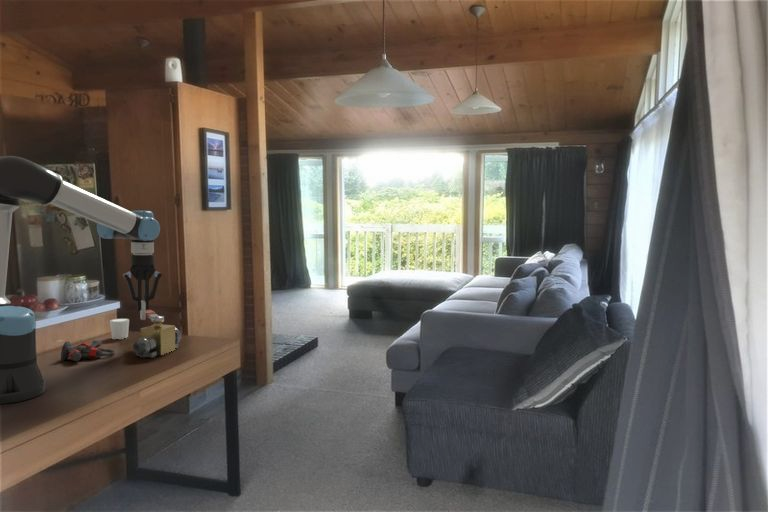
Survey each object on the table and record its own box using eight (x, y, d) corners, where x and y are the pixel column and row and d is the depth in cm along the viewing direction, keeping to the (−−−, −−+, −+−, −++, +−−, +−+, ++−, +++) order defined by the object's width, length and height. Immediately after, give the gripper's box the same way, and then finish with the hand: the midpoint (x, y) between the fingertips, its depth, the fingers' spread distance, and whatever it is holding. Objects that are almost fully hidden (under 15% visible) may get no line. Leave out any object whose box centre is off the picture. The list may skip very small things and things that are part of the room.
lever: (165, 322, 194) (165, 316, 194) (153, 323, 191) (153, 318, 191) (151, 314, 206) (151, 309, 206) (140, 315, 204) (140, 310, 204)
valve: (104, 370, 181) (54, 365, 178) (124, 352, 206) (81, 348, 203) (107, 350, 181) (57, 345, 177) (127, 335, 206) (83, 330, 203)
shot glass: (133, 336, 218) (132, 318, 217) (123, 340, 211) (122, 322, 210) (116, 335, 218) (116, 317, 218) (106, 339, 211) (105, 321, 211)
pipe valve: (151, 359, 185) (150, 328, 184) (131, 357, 187) (130, 326, 186) (183, 346, 203) (183, 318, 202) (164, 345, 205) (164, 316, 204)
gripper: (124, 255, 191) (125, 322, 193) (163, 254, 198) (164, 319, 200) (121, 253, 198) (121, 318, 200) (159, 252, 205) (159, 315, 207)
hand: (143, 319), depth 200 cm, fingers closed
